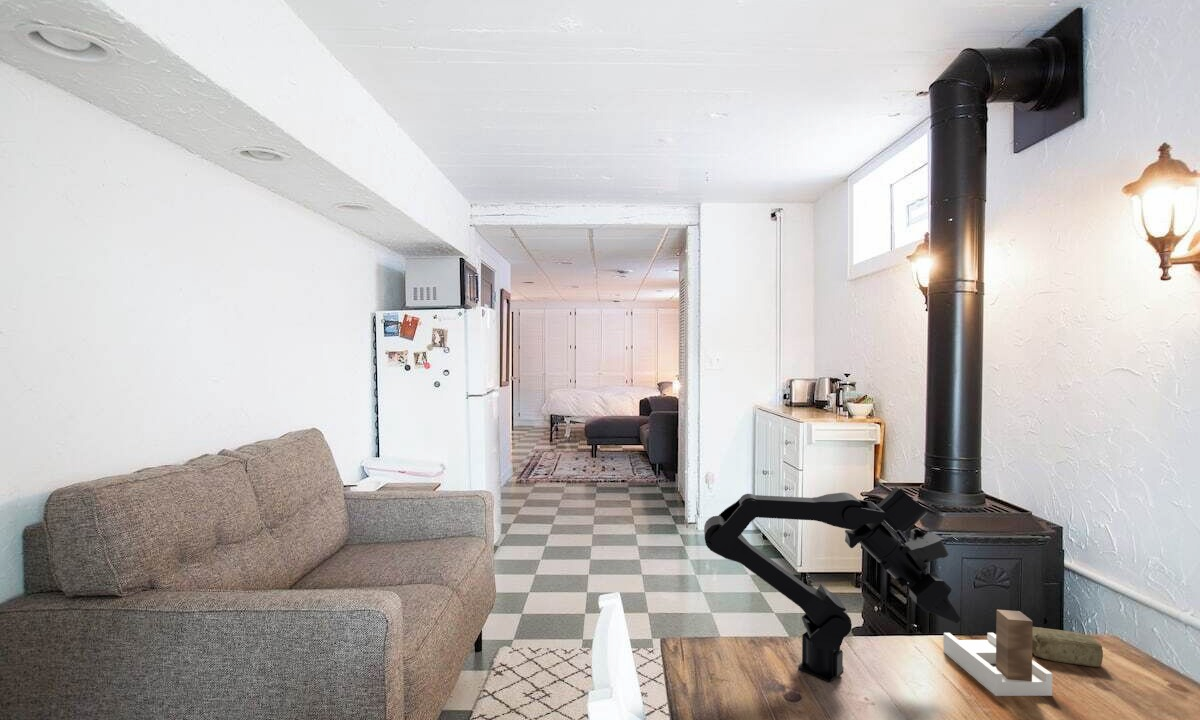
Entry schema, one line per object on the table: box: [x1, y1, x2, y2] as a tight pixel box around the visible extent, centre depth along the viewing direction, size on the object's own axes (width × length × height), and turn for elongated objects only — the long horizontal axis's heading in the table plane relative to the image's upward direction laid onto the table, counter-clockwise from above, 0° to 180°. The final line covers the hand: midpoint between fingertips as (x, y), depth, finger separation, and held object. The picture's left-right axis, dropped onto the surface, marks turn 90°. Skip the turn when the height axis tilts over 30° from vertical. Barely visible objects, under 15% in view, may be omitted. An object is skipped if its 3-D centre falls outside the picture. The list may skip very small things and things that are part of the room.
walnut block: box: [995, 609, 1034, 681], centre depth 104 cm, size 4×4×11 cm
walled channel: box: [942, 632, 1053, 697], centre depth 109 cm, size 10×15×4 cm
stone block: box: [1032, 626, 1104, 668], centre depth 114 cm, size 6×12×5 cm, turn 72°
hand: (947, 609), depth 106 cm, fingers open, 9 cm apart
